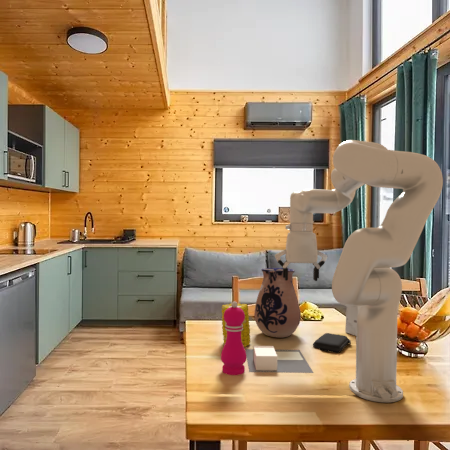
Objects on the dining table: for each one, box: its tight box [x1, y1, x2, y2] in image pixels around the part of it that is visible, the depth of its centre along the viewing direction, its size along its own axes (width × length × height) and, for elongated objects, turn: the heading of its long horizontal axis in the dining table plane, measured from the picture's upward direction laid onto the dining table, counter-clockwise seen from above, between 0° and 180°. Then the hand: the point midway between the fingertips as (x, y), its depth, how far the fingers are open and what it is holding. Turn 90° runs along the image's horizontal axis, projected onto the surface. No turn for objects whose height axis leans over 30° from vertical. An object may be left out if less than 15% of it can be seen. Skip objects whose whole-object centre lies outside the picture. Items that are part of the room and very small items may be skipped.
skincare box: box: [345, 306, 361, 337], centre depth 150 cm, size 6×4×12 cm
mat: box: [244, 348, 314, 374], centre depth 118 cm, size 20×18×1 cm
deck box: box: [252, 345, 277, 370], centre depth 114 cm, size 9×6×4 cm
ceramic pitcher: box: [253, 267, 302, 339], centre depth 149 cm, size 18×21×25 cm
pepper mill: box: [220, 301, 247, 376], centre depth 109 cm, size 7×7×20 cm
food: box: [221, 303, 251, 348], centre depth 134 cm, size 15×12×10 cm
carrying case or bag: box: [312, 332, 352, 354], centre depth 134 cm, size 11×3×15 cm
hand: (300, 280), depth 128 cm, fingers open, 9 cm apart
